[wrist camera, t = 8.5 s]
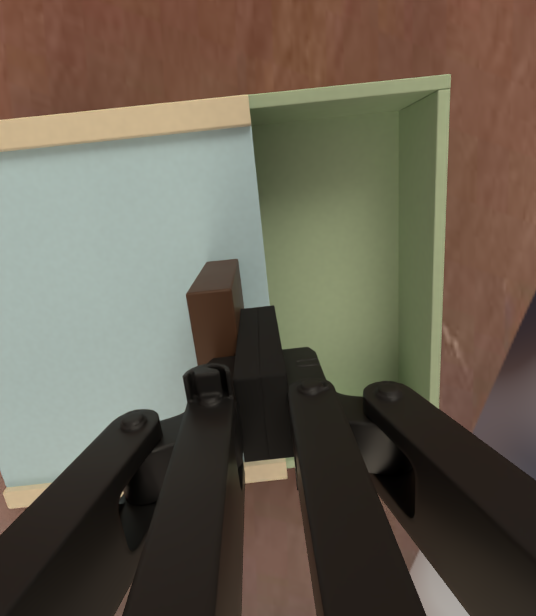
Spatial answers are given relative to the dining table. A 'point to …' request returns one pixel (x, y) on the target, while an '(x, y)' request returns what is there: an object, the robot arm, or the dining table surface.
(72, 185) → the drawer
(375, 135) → the green open storage box
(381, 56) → the dining table surface
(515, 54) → the dining table surface
